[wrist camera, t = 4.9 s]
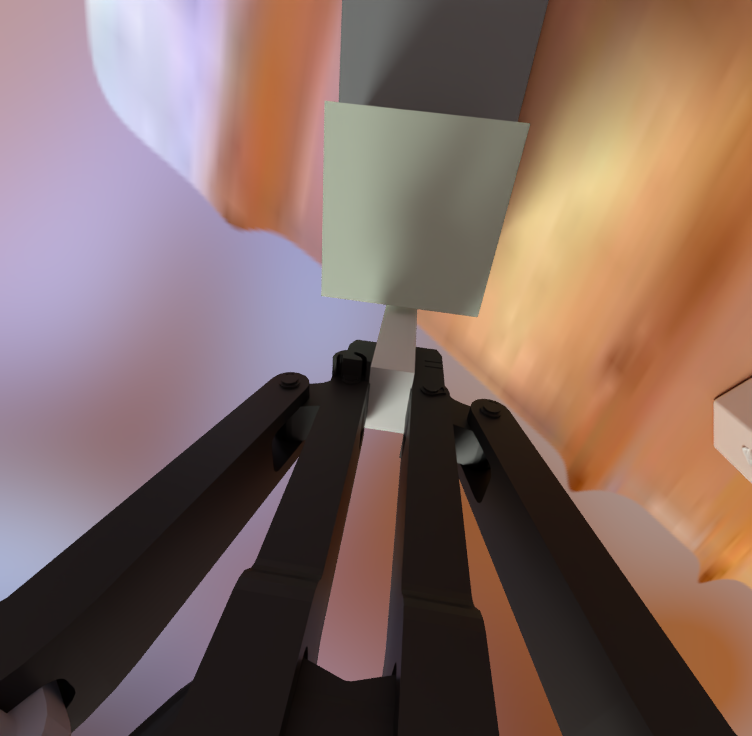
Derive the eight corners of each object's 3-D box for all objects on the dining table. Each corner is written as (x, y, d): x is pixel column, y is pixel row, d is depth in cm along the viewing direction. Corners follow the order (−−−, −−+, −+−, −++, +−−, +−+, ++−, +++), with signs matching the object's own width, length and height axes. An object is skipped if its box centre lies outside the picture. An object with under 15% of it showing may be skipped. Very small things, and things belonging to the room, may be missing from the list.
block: (357, 121, 18) (324, 100, 12) (493, 136, 17) (530, 123, 12) (349, 258, 21) (321, 295, 15) (461, 273, 21) (477, 317, 15)
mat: (372, -781, 9) (370, -829, 8) (744, -785, 8) (763, -837, 8) (333, 292, 23) (332, 294, 23) (467, 310, 23) (468, 313, 22)
